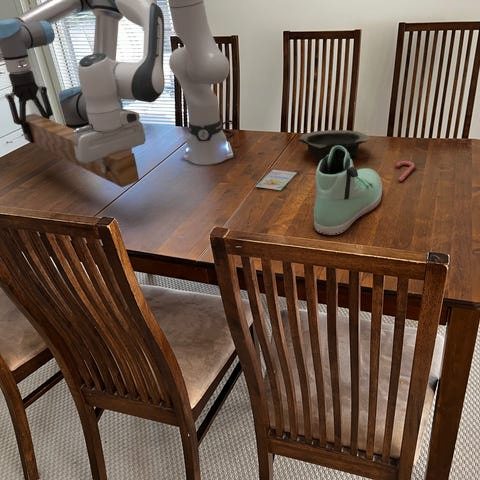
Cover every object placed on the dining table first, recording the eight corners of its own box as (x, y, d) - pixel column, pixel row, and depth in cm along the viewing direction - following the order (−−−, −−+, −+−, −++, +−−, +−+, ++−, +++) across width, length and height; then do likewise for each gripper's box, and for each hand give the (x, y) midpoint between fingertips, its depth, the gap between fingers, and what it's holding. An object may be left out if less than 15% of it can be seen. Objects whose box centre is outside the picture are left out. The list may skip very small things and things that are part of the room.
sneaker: (389, 187, 148) (396, 123, 138) (356, 242, 123) (361, 168, 112) (346, 181, 154) (350, 119, 144) (306, 232, 129) (307, 161, 118)
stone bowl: (326, 174, 159) (325, 147, 154) (286, 157, 179) (284, 133, 175) (384, 156, 168) (385, 130, 163) (340, 142, 188) (339, 118, 184)
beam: (25, 139, 172) (18, 117, 168) (40, 135, 175) (33, 113, 171) (122, 187, 130) (116, 159, 126) (139, 180, 134) (134, 153, 129)
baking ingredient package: (255, 185, 155) (273, 168, 166) (255, 187, 155) (273, 170, 166) (280, 189, 151) (297, 171, 163) (280, 190, 151) (297, 173, 163)
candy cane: (383, 179, 154) (383, 175, 153) (399, 163, 164) (400, 158, 163) (401, 183, 151) (402, 178, 150) (417, 166, 161) (417, 161, 160)
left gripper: (-5, 79, 149) (18, 149, 161) (52, 67, 160) (69, 134, 172) (-13, 76, 154) (9, 145, 166) (42, 64, 164) (60, 130, 176)
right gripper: (75, 132, 119) (88, 183, 127) (144, 112, 131) (152, 159, 138) (64, 128, 124) (77, 177, 131) (131, 108, 135) (140, 154, 142)
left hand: (40, 139), depth 169 cm, fingers closed on beam, 6 cm apart
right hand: (116, 168), depth 135 cm, fingers closed on beam, 5 cm apart
